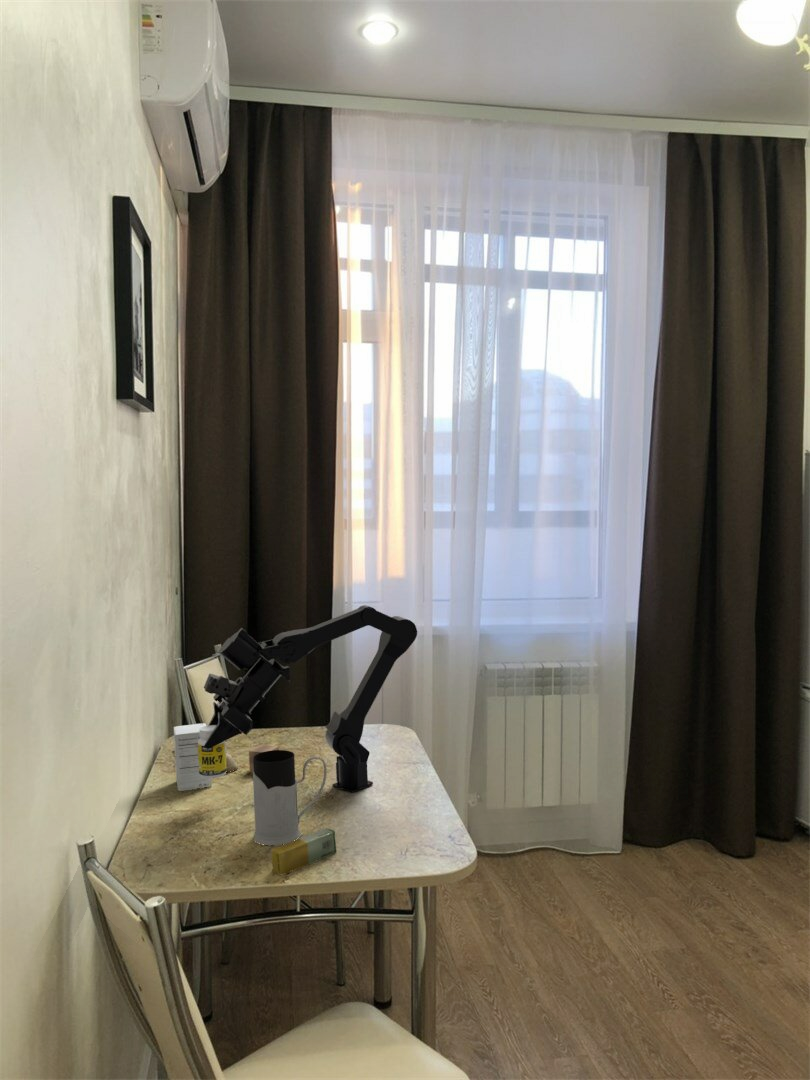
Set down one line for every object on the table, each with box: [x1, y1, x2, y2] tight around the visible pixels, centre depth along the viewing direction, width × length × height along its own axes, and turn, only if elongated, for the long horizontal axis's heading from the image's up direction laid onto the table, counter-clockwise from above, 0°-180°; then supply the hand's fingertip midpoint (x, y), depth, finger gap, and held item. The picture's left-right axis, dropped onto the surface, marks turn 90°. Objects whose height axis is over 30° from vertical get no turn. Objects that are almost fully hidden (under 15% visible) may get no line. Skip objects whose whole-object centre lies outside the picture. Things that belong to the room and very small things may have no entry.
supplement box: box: [173, 722, 212, 792], centre depth 181 cm, size 7×7×13 cm
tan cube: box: [248, 744, 280, 773], centre depth 190 cm, size 5×5×5 cm
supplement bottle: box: [198, 724, 227, 780], centre depth 166 cm, size 6×6×10 cm
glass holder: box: [252, 749, 328, 846], centre depth 151 cm, size 9×14×15 cm, turn 111°
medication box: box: [270, 827, 337, 875], centre depth 139 cm, size 12×3×4 cm, turn 134°
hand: (204, 743), depth 166 cm, fingers closed on supplement bottle, 5 cm apart
